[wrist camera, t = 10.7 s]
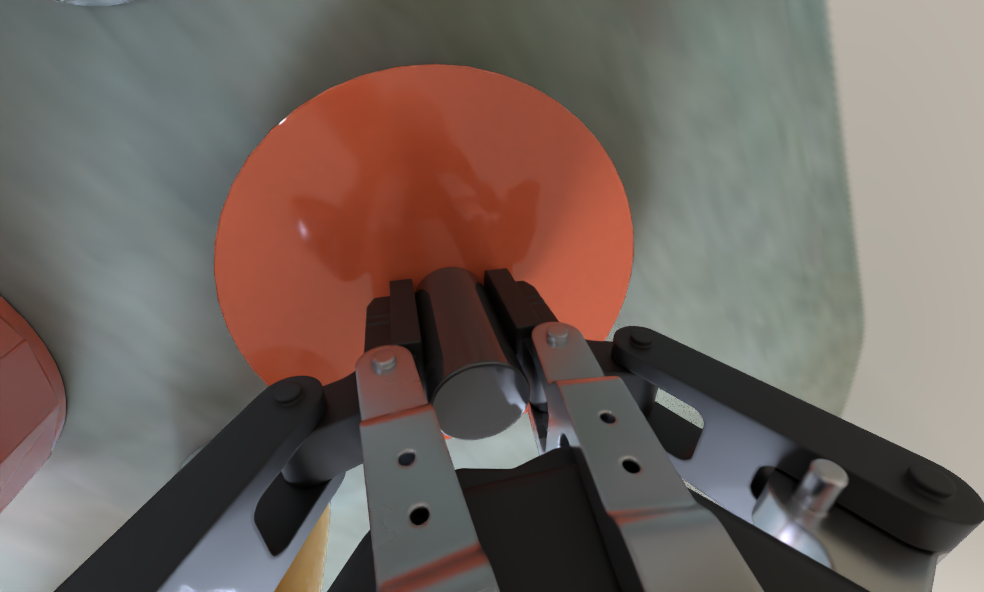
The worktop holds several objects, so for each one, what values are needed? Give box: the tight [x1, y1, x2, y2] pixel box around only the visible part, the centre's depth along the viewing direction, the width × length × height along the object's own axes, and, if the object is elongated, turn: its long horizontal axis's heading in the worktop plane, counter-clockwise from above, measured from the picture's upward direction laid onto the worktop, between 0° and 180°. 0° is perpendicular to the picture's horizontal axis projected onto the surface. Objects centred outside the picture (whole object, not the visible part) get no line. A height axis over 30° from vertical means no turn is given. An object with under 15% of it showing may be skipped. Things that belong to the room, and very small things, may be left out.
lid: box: [214, 64, 633, 440], centre depth 12 cm, size 14×14×6 cm
